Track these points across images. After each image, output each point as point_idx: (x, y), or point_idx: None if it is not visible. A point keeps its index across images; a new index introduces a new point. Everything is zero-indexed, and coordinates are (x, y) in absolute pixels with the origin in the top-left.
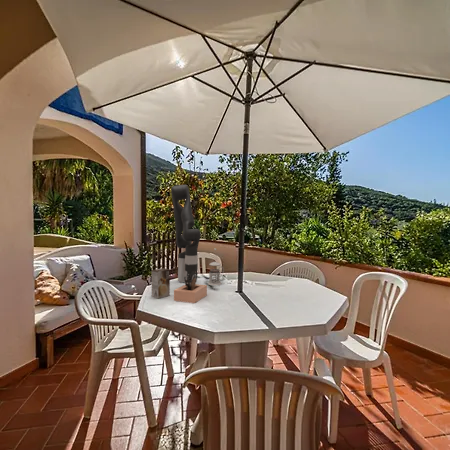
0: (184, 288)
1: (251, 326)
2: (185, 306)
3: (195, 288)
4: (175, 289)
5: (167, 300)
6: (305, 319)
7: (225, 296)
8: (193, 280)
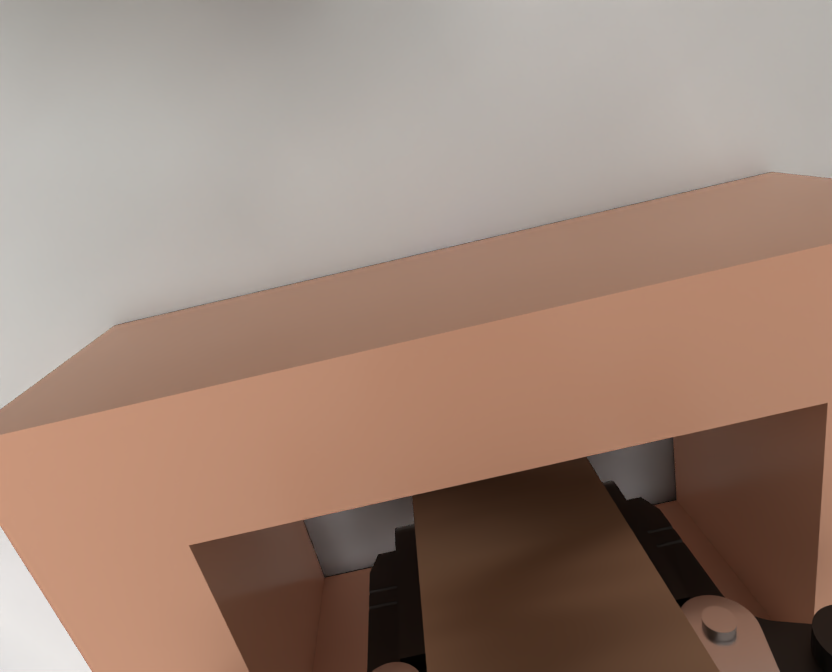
0: (416, 479)
1: None
2: (46, 658)
3: (758, 497)
4: (51, 426)
5: (14, 206)
6: None
7: None
8: None
